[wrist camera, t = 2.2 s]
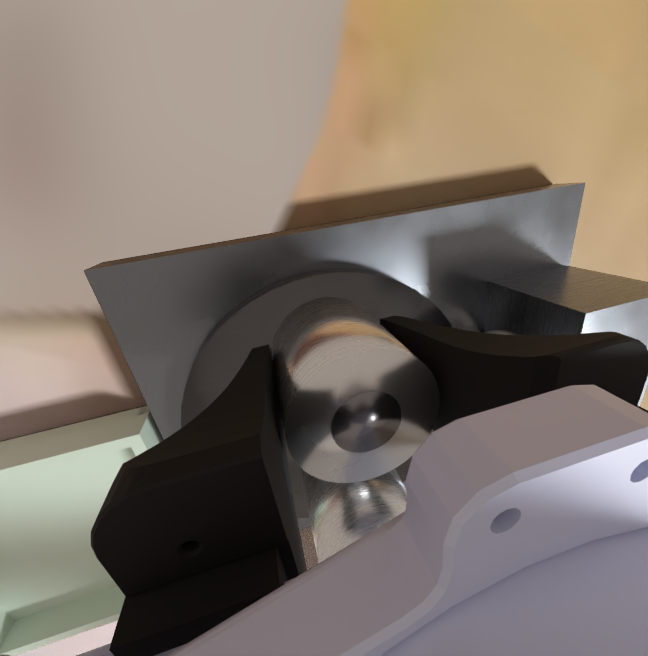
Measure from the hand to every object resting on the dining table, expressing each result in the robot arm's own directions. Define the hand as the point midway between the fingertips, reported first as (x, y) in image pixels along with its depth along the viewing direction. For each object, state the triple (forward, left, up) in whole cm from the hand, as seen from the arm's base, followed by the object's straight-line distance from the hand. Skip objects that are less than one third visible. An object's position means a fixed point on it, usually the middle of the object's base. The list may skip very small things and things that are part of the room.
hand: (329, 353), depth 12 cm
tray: (-7, +14, -3) cm, 16 cm away
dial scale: (-3, -2, -3) cm, 5 cm away
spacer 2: (-7, 0, 0) cm, 7 cm away
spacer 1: (0, 0, 0) cm, 0 cm away
